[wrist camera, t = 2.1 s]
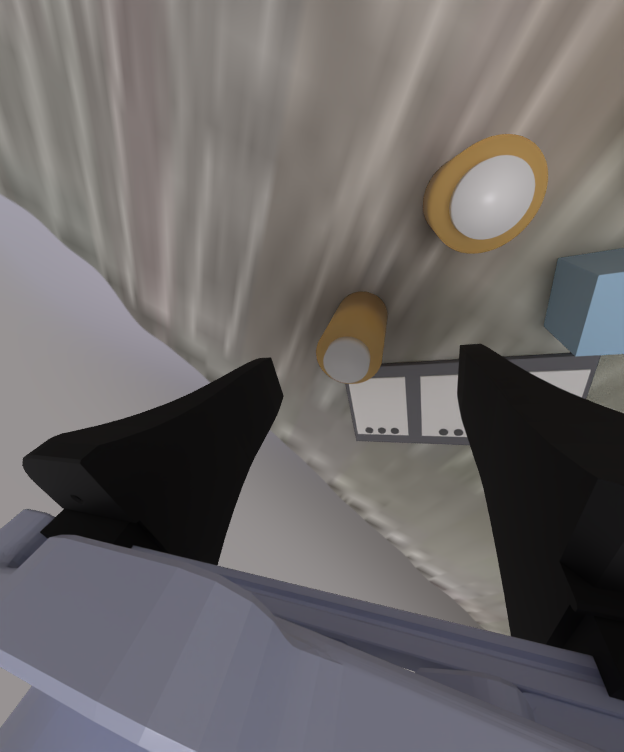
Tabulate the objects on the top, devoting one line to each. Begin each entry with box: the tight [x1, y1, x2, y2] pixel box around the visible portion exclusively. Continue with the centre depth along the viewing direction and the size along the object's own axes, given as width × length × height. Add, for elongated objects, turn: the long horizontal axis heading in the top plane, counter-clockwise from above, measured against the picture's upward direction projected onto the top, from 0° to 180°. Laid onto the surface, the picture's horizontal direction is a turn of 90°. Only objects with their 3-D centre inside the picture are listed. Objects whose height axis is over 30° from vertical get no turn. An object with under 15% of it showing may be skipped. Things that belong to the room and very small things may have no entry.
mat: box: [345, 353, 601, 445], centre depth 21 cm, size 8×16×1 cm, turn 103°
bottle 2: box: [423, 134, 548, 254], centre depth 12 cm, size 4×4×7 cm
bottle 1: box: [316, 292, 388, 384], centre depth 17 cm, size 4×4×7 cm
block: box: [544, 248, 624, 356], centre depth 14 cm, size 4×4×4 cm
